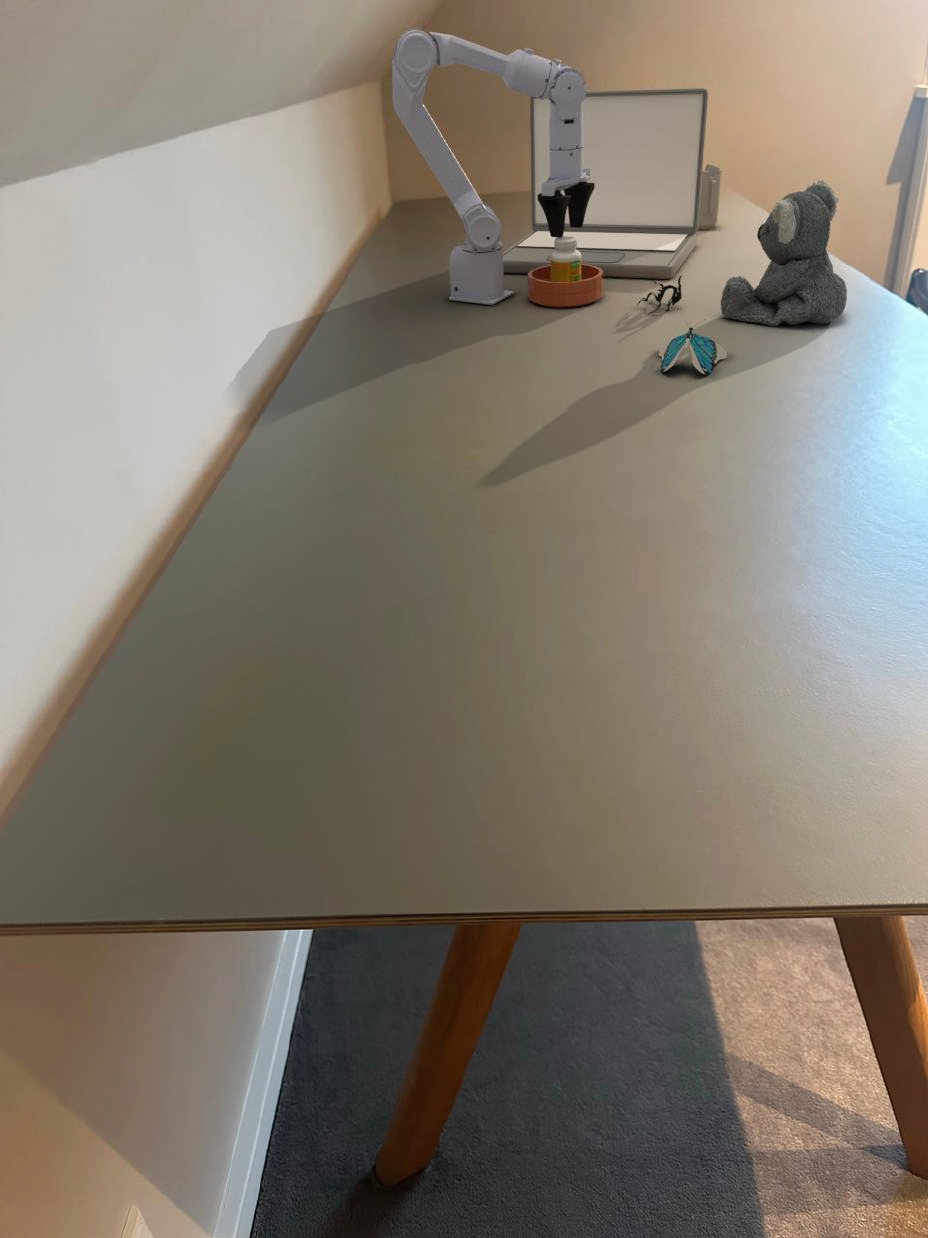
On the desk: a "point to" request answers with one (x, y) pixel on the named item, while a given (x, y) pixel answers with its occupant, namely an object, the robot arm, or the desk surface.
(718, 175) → the cable organizer
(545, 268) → the bowl
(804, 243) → the koala plush
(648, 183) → the laptop
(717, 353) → the decorative butterfly
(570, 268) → the supplement bottle
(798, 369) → the desk surface
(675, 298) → the creature
